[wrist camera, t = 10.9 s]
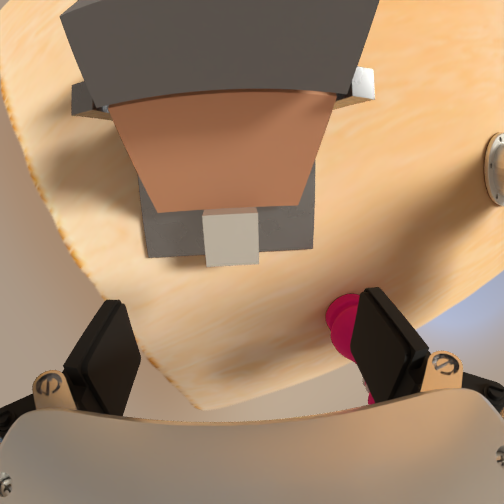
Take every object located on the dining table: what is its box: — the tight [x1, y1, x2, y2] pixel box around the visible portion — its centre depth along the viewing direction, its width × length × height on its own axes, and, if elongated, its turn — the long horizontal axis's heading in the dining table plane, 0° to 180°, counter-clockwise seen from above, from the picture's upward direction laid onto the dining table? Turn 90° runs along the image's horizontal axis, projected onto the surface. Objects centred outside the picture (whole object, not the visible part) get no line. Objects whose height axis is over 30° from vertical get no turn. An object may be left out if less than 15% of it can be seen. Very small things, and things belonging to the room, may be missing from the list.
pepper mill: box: [326, 294, 375, 405], centre depth 28 cm, size 7×7×20 cm
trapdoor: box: [60, 0, 379, 213], centre depth 17 cm, size 14×22×5 cm
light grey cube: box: [202, 207, 259, 267], centre depth 28 cm, size 5×5×5 cm
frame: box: [72, 66, 375, 258], centre depth 21 cm, size 19×25×16 cm
